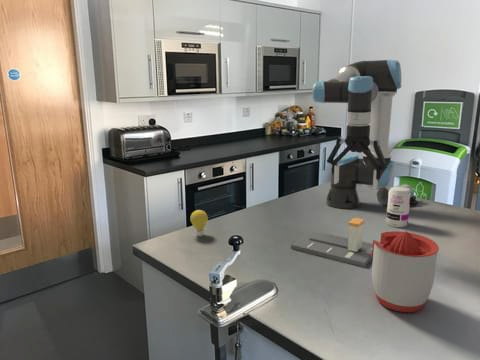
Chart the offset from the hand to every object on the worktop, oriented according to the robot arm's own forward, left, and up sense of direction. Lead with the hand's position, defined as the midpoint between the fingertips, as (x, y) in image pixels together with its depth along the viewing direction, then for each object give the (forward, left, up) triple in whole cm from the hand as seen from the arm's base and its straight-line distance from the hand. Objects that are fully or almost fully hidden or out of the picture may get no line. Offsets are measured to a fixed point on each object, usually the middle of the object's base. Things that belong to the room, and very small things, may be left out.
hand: (355, 185), depth 137 cm
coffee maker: (-49, -2, -18) cm, 52 cm away
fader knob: (+8, +4, -20) cm, 22 cm away
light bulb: (+24, -51, -22) cm, 61 cm away
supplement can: (-28, +9, -22) cm, 37 cm away
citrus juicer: (+30, +23, -22) cm, 43 cm away
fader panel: (+8, -3, -22) cm, 23 cm away
